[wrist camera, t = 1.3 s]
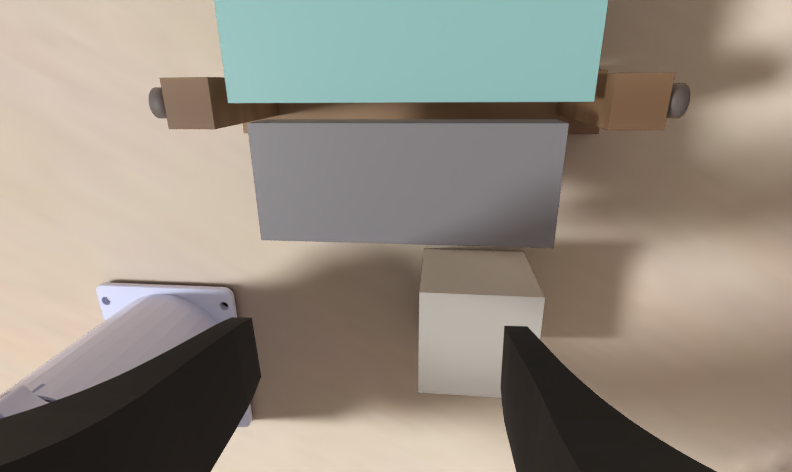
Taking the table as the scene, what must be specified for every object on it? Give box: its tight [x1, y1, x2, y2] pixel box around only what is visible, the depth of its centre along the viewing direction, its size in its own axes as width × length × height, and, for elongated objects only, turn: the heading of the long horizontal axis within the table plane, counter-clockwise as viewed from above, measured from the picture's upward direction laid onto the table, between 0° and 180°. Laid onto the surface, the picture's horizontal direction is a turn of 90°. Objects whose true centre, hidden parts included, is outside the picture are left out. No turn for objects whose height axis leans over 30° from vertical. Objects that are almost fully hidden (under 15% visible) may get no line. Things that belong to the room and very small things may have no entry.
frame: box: [149, 70, 690, 134], centre depth 17 cm, size 3×17×7 cm, turn 91°
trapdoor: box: [214, 0, 608, 248], centre depth 14 cm, size 11×12×2 cm
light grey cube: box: [418, 249, 545, 398], centre depth 21 cm, size 5×5×5 cm
